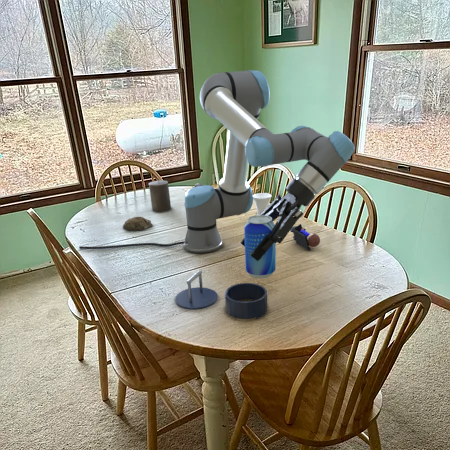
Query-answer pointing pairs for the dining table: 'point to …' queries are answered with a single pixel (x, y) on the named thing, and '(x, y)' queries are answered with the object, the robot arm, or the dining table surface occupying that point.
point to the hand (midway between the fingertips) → (248, 251)
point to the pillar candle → (160, 196)
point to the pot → (246, 308)
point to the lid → (196, 295)
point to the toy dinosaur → (198, 185)
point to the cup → (261, 201)
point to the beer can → (254, 235)
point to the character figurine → (305, 237)
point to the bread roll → (137, 224)
